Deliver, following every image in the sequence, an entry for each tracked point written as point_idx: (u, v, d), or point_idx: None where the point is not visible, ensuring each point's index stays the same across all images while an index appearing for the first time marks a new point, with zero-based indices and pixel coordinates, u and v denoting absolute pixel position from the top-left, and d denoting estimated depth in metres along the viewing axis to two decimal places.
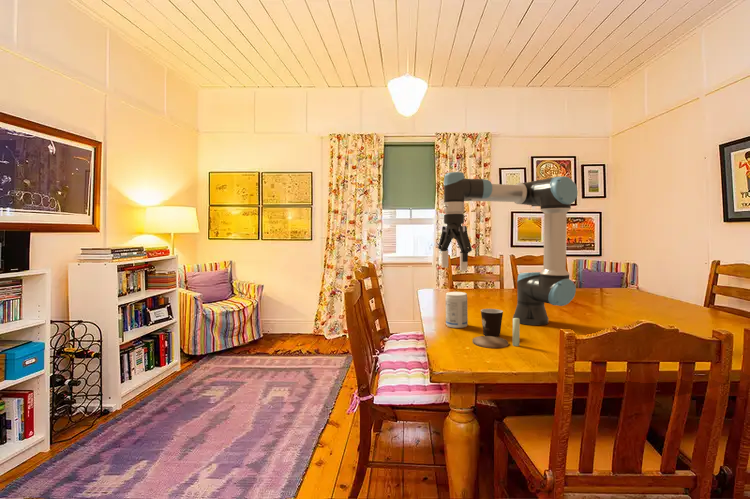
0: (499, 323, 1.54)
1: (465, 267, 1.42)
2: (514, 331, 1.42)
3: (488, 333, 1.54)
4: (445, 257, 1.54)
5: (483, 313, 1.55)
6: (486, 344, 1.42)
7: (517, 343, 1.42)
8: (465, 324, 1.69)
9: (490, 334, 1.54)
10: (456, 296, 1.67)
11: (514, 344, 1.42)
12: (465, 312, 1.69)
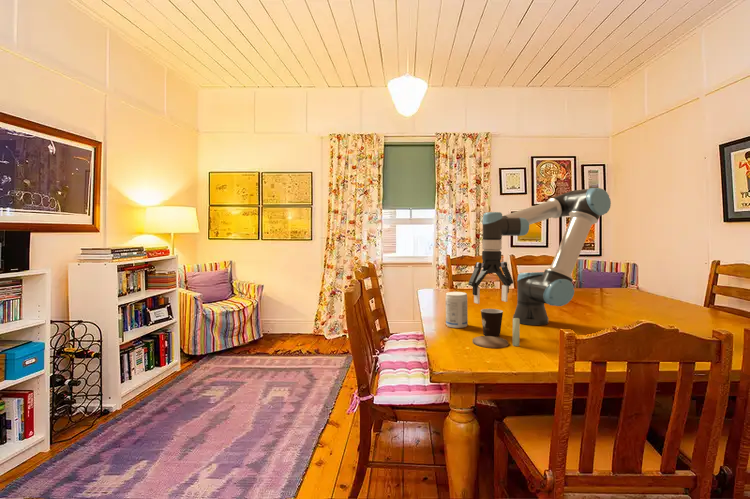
0: (499, 323, 1.54)
1: (476, 300, 1.55)
2: (514, 331, 1.42)
3: (488, 333, 1.54)
4: (504, 291, 1.60)
5: (483, 313, 1.55)
6: (486, 344, 1.42)
7: (517, 343, 1.42)
8: (465, 324, 1.69)
9: (490, 334, 1.54)
10: (456, 296, 1.67)
11: (514, 344, 1.42)
12: (465, 312, 1.69)
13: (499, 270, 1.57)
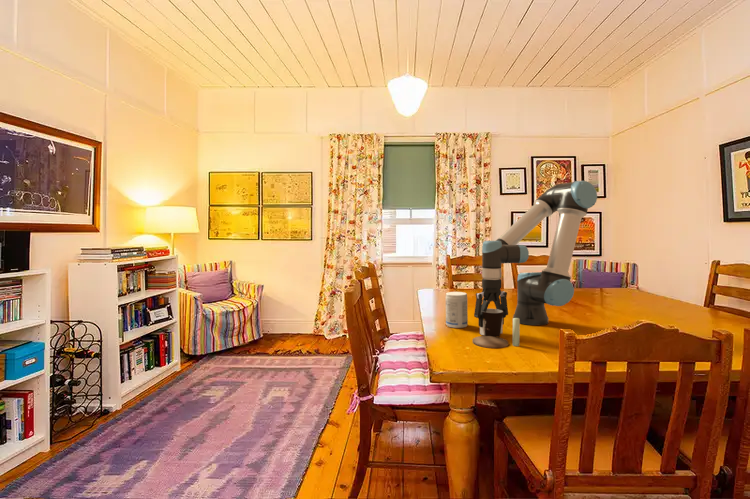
0: (499, 323, 1.54)
1: (482, 332, 1.57)
2: (514, 331, 1.42)
3: (489, 333, 1.54)
4: None
5: (483, 313, 1.55)
6: (486, 344, 1.42)
7: (517, 343, 1.42)
8: (465, 324, 1.69)
9: (490, 334, 1.54)
10: (456, 296, 1.67)
11: (514, 344, 1.42)
12: (465, 312, 1.69)
13: (498, 299, 1.57)
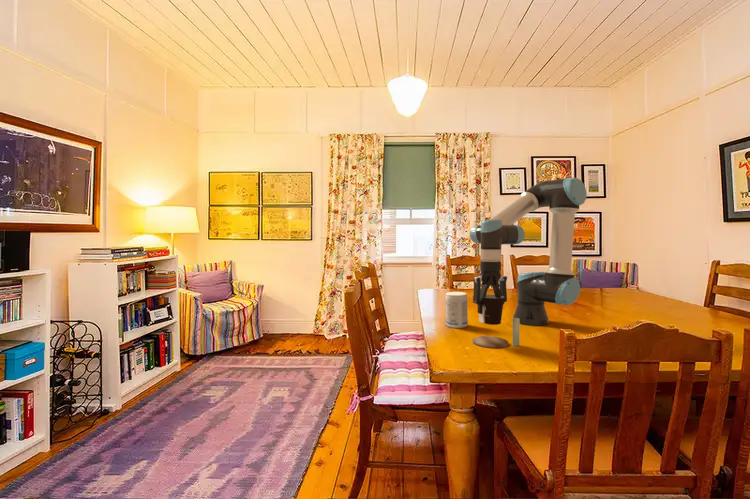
0: (500, 309, 1.41)
1: (481, 319, 1.44)
2: (514, 331, 1.42)
3: (488, 320, 1.42)
4: None
5: (483, 298, 1.43)
6: (486, 344, 1.42)
7: (517, 343, 1.42)
8: (465, 324, 1.69)
9: (490, 321, 1.42)
10: (456, 296, 1.67)
11: (514, 344, 1.42)
12: (465, 312, 1.69)
13: (497, 283, 1.44)
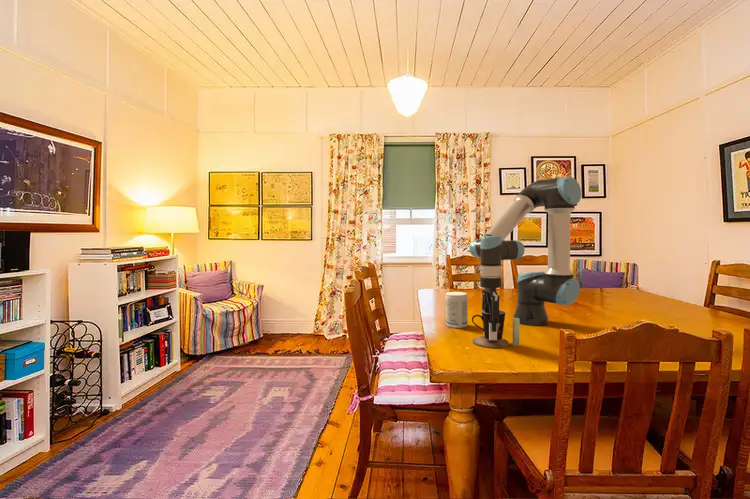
0: None
1: (494, 337, 1.42)
2: (514, 331, 1.42)
3: (500, 335, 1.44)
4: None
5: None
6: (486, 344, 1.42)
7: (517, 343, 1.42)
8: (465, 324, 1.69)
9: (501, 336, 1.44)
10: (456, 296, 1.67)
11: (514, 344, 1.42)
12: (465, 312, 1.69)
13: None
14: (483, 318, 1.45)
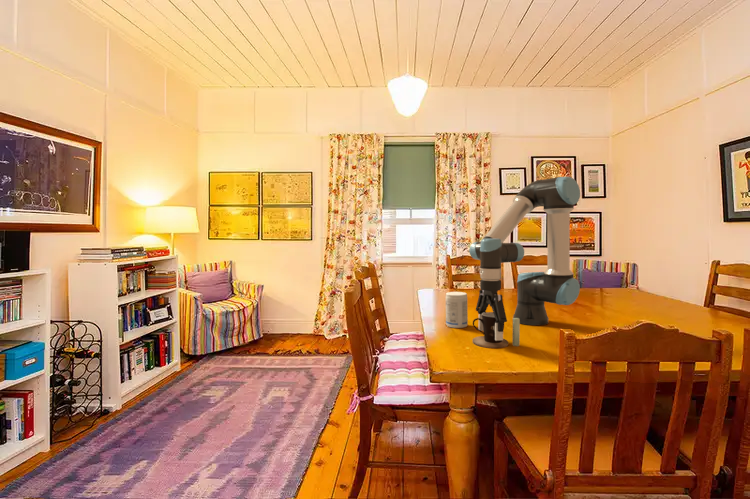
0: None
1: (500, 337, 1.39)
2: (514, 331, 1.42)
3: None
4: None
5: None
6: (486, 344, 1.42)
7: (517, 343, 1.42)
8: (465, 324, 1.69)
9: None
10: (456, 296, 1.67)
11: (514, 344, 1.42)
12: (465, 312, 1.69)
13: None
14: (484, 321, 1.45)
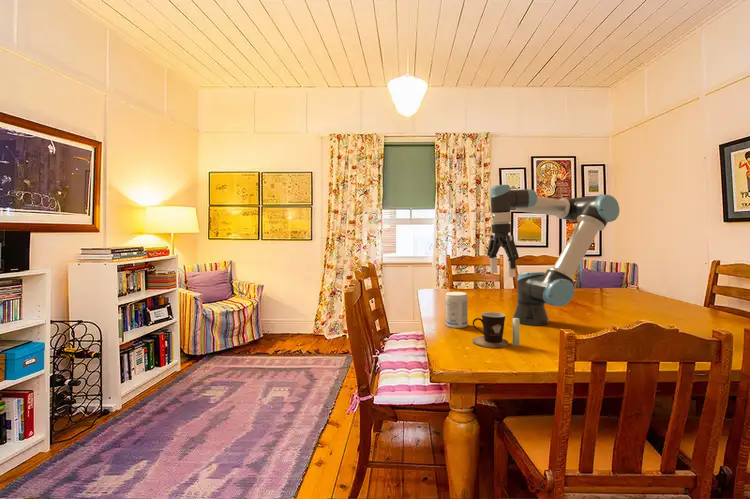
0: None
1: (513, 274, 1.52)
2: (514, 331, 1.42)
3: (501, 338, 1.44)
4: (494, 263, 1.65)
5: (499, 318, 1.42)
6: (486, 344, 1.42)
7: (517, 343, 1.42)
8: (465, 324, 1.69)
9: (501, 339, 1.45)
10: (456, 296, 1.67)
11: (514, 344, 1.42)
12: (465, 312, 1.69)
13: None
14: (484, 321, 1.45)
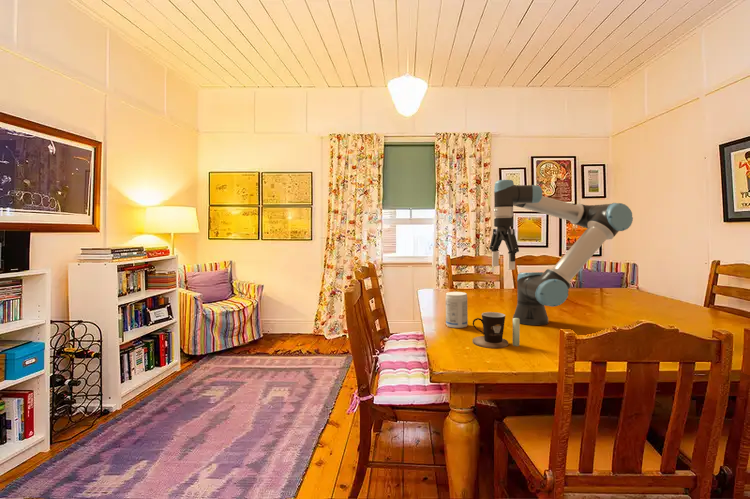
0: None
1: (513, 266, 1.56)
2: (514, 331, 1.42)
3: (501, 338, 1.44)
4: (495, 257, 1.69)
5: (499, 318, 1.42)
6: (486, 344, 1.42)
7: (517, 343, 1.42)
8: (465, 324, 1.69)
9: (501, 339, 1.45)
10: (456, 296, 1.67)
11: (514, 344, 1.42)
12: (465, 312, 1.69)
13: None
14: (484, 321, 1.45)
